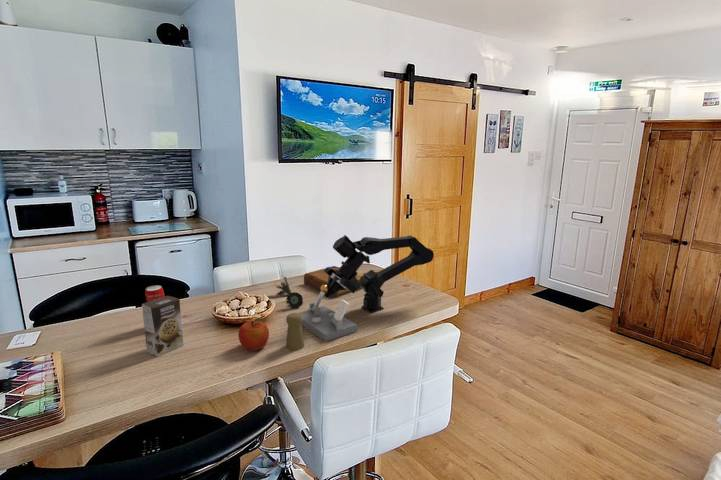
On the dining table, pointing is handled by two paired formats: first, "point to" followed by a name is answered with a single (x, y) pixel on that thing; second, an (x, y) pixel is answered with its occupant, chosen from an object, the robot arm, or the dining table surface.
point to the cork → (294, 332)
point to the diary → (324, 280)
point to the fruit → (253, 334)
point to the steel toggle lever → (320, 296)
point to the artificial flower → (290, 295)
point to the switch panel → (326, 323)
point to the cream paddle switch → (340, 311)
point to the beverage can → (154, 292)
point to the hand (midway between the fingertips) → (325, 297)
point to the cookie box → (162, 325)
